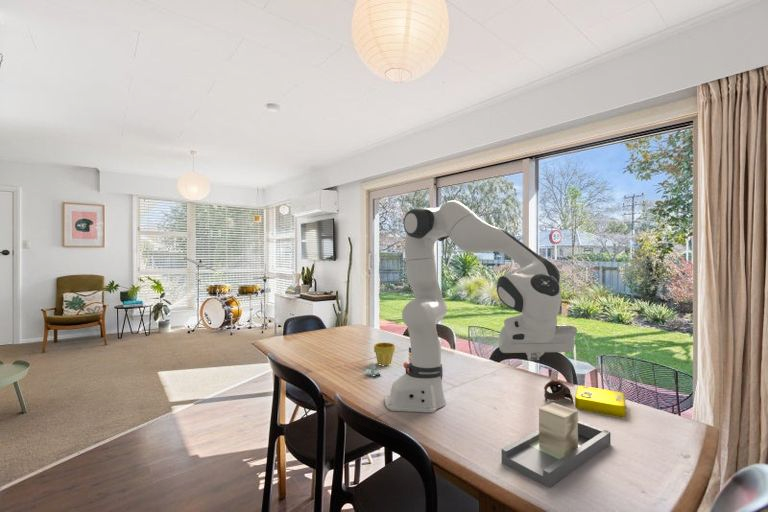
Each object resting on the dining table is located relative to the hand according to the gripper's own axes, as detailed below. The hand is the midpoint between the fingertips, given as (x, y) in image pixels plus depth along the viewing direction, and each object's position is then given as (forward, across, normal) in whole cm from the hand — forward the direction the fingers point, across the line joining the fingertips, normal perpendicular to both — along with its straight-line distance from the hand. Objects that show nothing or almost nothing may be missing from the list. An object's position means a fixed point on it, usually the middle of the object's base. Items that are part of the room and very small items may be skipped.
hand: (533, 358), depth 107 cm
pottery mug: (+37, -15, -10) cm, 41 cm away
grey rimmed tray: (+14, -3, +21) cm, 25 cm away
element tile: (+36, -28, -6) cm, 46 cm away
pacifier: (+45, +58, -26) cm, 78 cm away
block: (+12, -3, +20) cm, 23 cm away
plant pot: (+55, +56, -40) cm, 88 cm away
